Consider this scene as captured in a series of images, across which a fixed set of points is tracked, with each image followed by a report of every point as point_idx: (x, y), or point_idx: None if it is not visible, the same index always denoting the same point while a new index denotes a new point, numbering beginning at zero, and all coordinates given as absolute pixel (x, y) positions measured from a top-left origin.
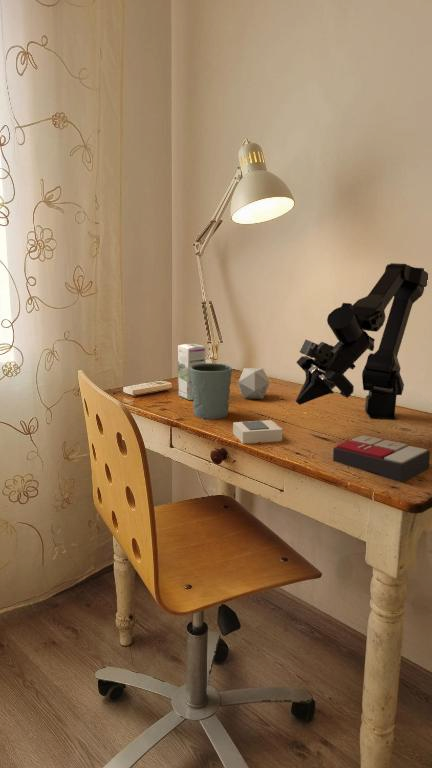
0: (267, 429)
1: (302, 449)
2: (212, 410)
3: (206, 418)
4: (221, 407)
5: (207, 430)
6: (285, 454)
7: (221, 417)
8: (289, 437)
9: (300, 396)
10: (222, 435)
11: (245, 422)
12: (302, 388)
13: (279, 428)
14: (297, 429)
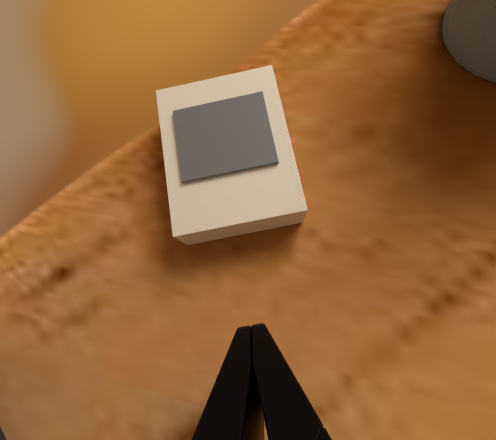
0: (176, 176)
1: (95, 300)
2: (459, 6)
3: (443, 19)
4: (484, 26)
5: (303, 25)
6: (60, 231)
7: (462, 63)
8: (225, 281)
9: (235, 362)
10: (253, 65)
11: (255, 102)
12: (302, 422)
13: (185, 225)
14: (330, 340)
